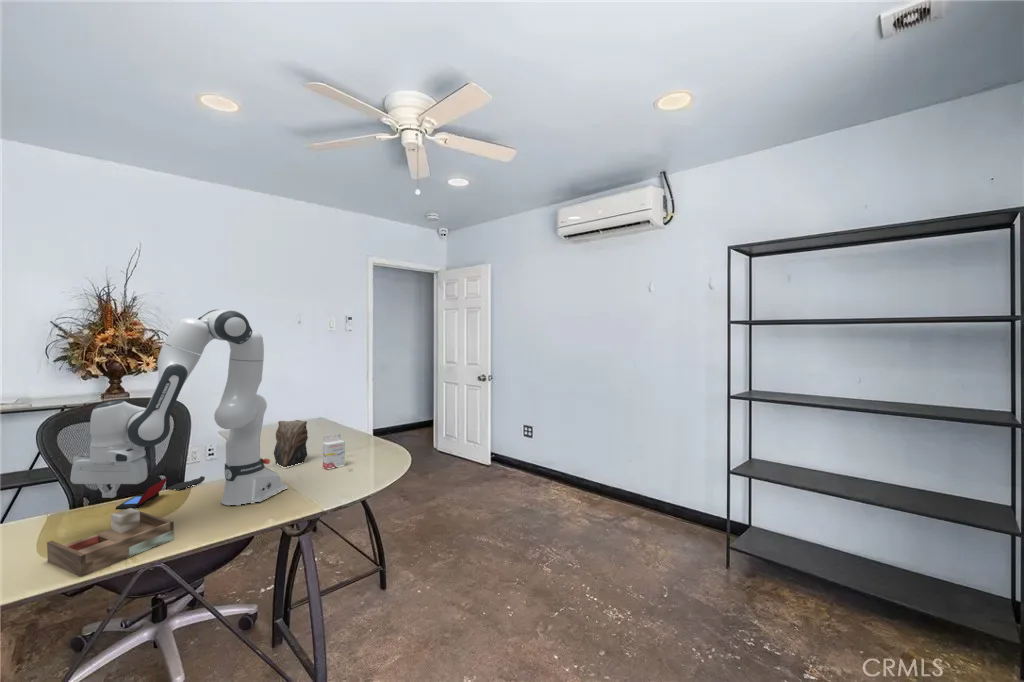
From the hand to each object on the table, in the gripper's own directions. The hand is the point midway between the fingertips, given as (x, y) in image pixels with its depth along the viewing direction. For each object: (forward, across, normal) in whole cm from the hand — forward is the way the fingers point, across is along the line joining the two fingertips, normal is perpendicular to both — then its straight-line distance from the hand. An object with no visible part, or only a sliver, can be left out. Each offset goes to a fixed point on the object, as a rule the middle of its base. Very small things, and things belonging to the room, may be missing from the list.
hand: (109, 497), depth 139 cm
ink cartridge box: (+10, +50, +62) cm, 80 cm away
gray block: (+8, +7, -3) cm, 12 cm away
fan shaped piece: (+12, -2, +43) cm, 44 cm away
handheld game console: (+12, -8, +25) cm, 29 cm away
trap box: (+12, +10, -11) cm, 18 cm away
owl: (+11, +27, +67) cm, 73 cm away
